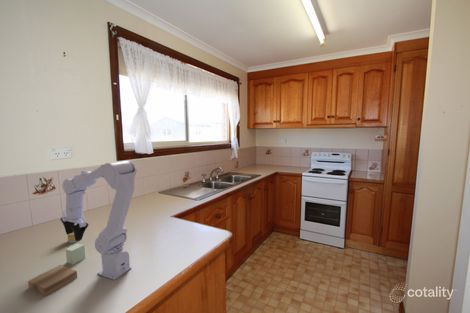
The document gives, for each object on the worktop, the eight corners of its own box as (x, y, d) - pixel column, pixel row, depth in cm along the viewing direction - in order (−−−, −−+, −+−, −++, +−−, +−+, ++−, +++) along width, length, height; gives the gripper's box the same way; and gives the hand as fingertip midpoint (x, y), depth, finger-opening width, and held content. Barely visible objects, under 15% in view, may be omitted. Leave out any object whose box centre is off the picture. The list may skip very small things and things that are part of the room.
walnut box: (77, 278, 82) (76, 271, 81) (46, 297, 73) (45, 288, 72) (60, 272, 86) (60, 265, 85) (29, 289, 76) (28, 281, 76)
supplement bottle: (79, 236, 114) (77, 218, 113) (82, 239, 110) (81, 221, 109) (66, 240, 110) (65, 222, 109) (70, 244, 106) (68, 224, 105)
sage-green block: (85, 258, 94) (84, 245, 94) (73, 264, 90) (71, 251, 89) (79, 256, 96) (78, 243, 95) (66, 262, 91) (65, 249, 90)
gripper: (54, 203, 90) (54, 233, 92) (72, 215, 83) (71, 247, 85) (74, 199, 96) (73, 227, 98) (92, 209, 89) (90, 240, 91)
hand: (74, 236), depth 92 cm, fingers open, 7 cm apart
